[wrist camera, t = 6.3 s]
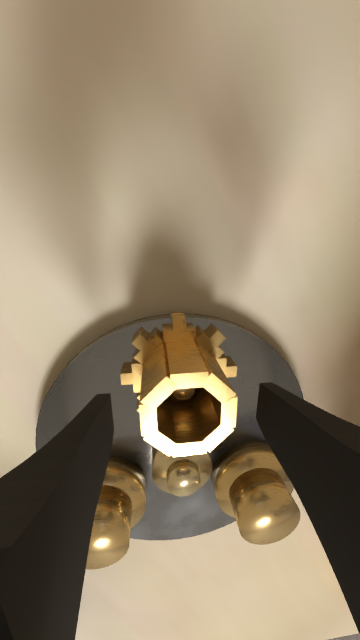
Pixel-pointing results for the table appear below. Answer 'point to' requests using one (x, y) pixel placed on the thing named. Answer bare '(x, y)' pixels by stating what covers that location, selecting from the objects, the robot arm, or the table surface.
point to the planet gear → (182, 387)
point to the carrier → (183, 471)
